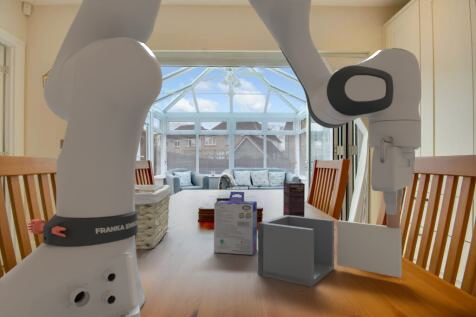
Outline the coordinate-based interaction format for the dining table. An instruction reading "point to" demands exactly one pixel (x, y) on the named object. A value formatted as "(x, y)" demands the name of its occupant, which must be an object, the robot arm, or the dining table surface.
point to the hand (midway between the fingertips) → (393, 213)
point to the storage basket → (151, 214)
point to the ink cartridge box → (235, 225)
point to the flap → (371, 245)
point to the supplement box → (294, 199)
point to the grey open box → (296, 249)
